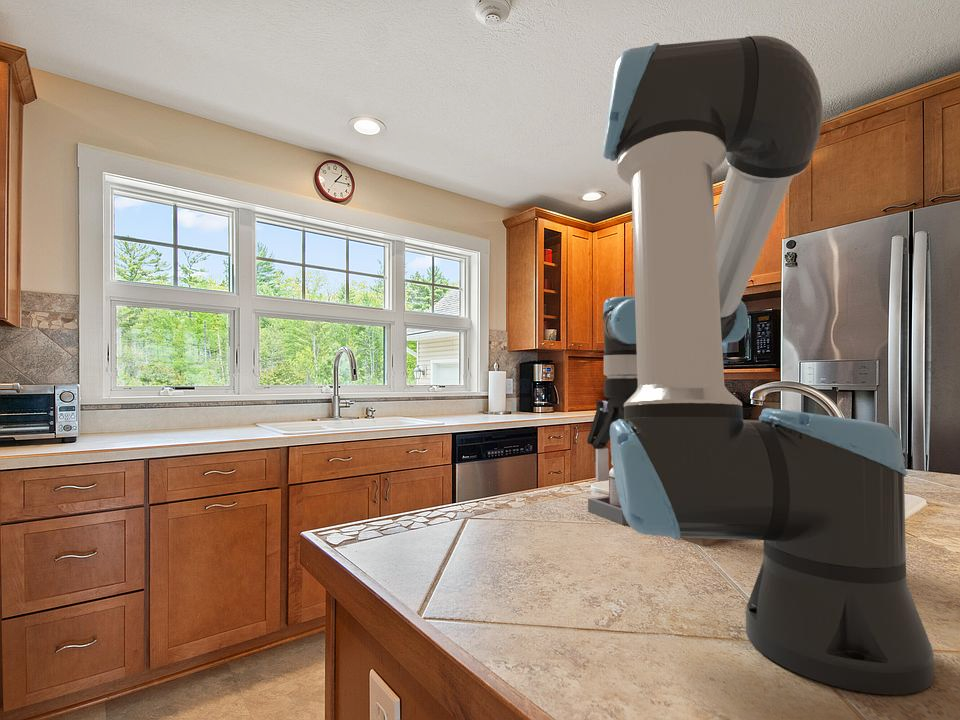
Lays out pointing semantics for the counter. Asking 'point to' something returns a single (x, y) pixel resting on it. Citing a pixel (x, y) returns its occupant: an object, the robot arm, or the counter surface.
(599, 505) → the grey shallow tray
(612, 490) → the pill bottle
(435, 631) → the counter surface
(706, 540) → the walnut frame
